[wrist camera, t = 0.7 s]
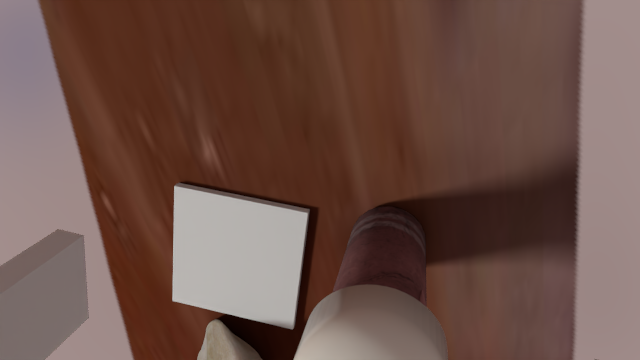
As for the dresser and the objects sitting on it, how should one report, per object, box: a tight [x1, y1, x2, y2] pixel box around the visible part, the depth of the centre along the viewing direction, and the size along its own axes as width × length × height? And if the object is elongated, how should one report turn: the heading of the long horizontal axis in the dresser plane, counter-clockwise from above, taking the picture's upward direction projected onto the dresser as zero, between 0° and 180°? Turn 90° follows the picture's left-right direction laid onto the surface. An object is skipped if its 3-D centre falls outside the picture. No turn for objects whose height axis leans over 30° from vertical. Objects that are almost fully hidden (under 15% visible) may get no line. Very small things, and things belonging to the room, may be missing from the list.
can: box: [333, 206, 426, 306], centre depth 33 cm, size 6×6×14 cm
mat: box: [173, 183, 310, 330], centre depth 43 cm, size 12×12×1 cm
